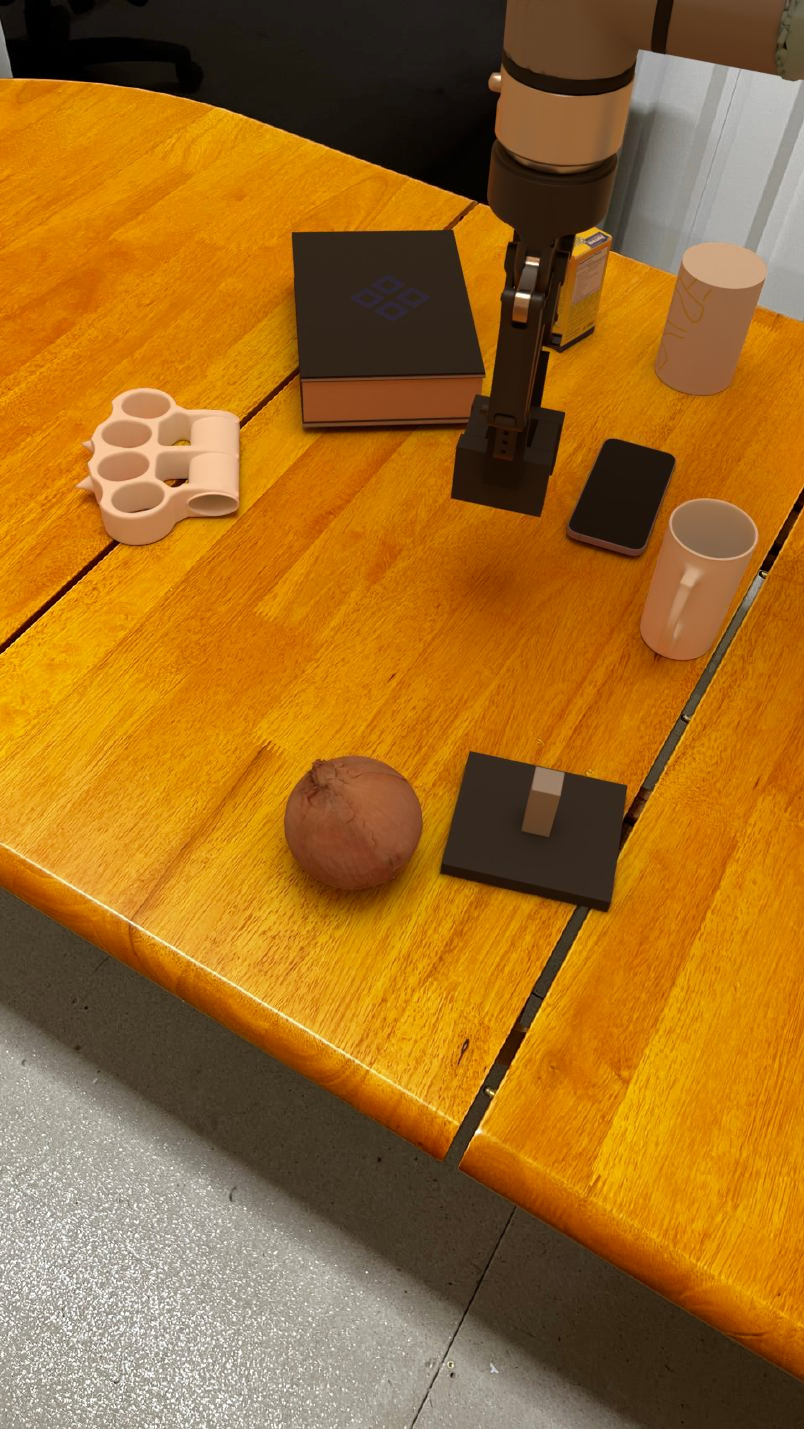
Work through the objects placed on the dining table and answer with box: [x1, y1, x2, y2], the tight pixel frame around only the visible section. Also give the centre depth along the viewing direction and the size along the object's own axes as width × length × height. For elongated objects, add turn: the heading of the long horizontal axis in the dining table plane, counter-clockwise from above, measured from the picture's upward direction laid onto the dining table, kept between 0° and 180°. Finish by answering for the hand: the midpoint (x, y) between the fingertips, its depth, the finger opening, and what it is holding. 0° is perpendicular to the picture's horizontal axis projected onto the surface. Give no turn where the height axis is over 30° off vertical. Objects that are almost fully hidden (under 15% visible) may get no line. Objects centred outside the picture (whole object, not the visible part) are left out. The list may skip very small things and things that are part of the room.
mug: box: [639, 497, 759, 661], centre depth 87 cm, size 10×7×12 cm, turn 151°
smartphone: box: [566, 437, 677, 557], centre depth 102 cm, size 7×1×15 cm
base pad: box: [439, 750, 628, 913], centre depth 78 cm, size 12×10×7 cm
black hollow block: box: [450, 394, 566, 518], centre depth 84 cm, size 7×7×5 cm
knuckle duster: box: [74, 387, 241, 546], centre depth 101 cm, size 3×18×15 cm
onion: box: [283, 755, 424, 891], centre depth 75 cm, size 10×9×10 cm
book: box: [291, 229, 487, 429], centre depth 112 cm, size 17×25×7 cm
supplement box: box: [552, 226, 613, 353], centre depth 114 cm, size 6×6×11 cm
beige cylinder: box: [654, 241, 768, 396], centre depth 110 cm, size 8×8×12 cm
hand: (510, 452), depth 83 cm, fingers closed on black hollow block, 7 cm apart
